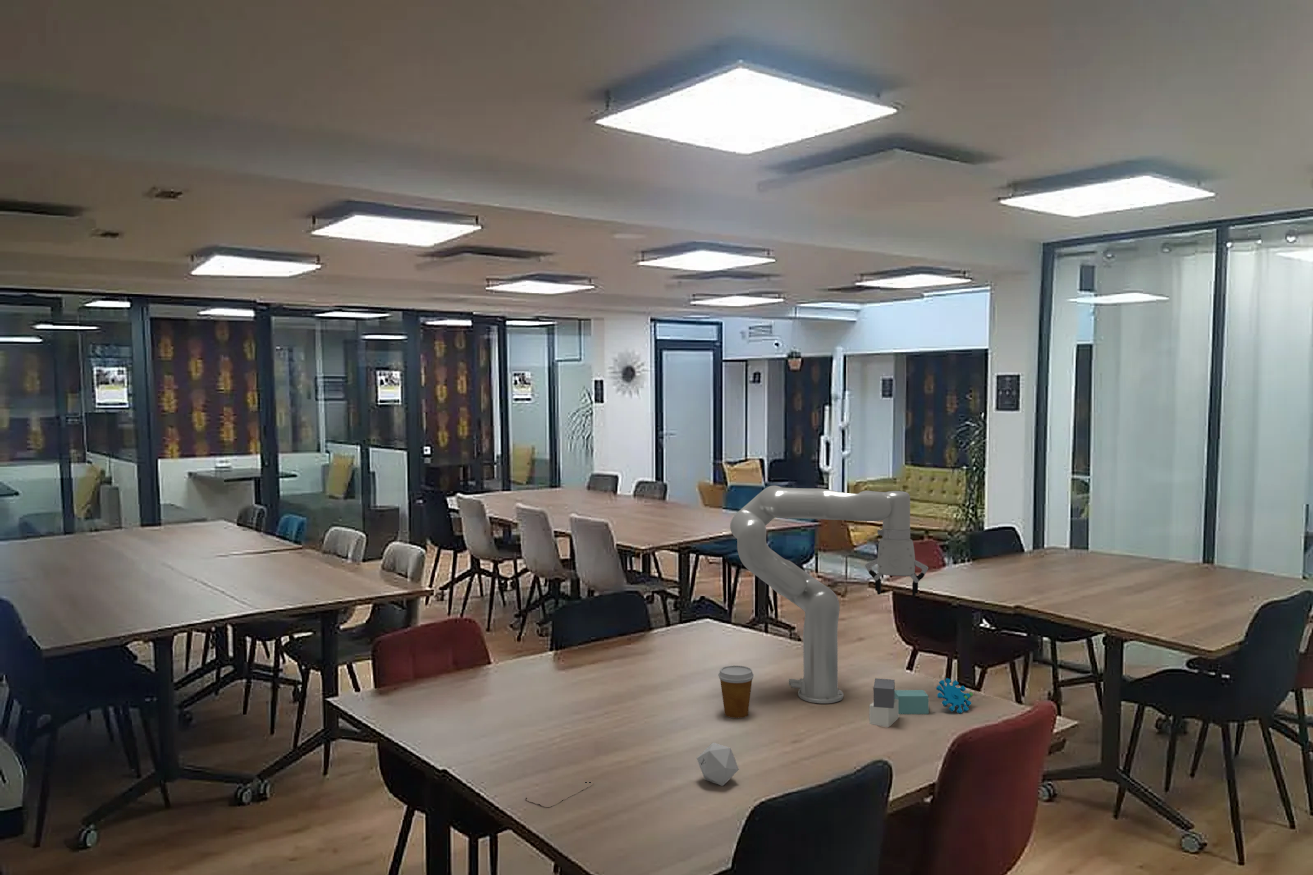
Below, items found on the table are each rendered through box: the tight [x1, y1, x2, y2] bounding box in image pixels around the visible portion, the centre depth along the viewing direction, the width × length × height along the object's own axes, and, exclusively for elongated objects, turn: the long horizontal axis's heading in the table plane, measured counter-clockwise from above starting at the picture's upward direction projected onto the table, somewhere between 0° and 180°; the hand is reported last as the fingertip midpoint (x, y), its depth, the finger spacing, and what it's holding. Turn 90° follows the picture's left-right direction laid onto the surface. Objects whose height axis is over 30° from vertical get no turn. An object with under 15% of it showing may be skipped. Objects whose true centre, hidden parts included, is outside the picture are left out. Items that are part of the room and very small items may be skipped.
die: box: [696, 742, 740, 787], centre depth 201 cm, size 8×9×10 cm
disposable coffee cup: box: [717, 665, 755, 719], centre depth 242 cm, size 10×10×12 cm
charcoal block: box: [872, 677, 896, 708], centre depth 236 cm, size 8×5×5 cm, turn 164°
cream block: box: [868, 699, 900, 728], centre depth 236 cm, size 8×5×5 cm, turn 146°
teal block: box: [895, 689, 930, 715], centre depth 243 cm, size 8×5×5 cm, turn 89°
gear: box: [935, 677, 974, 714], centre depth 246 cm, size 11×6×10 cm
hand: (896, 594), depth 257 cm, fingers open, 9 cm apart
